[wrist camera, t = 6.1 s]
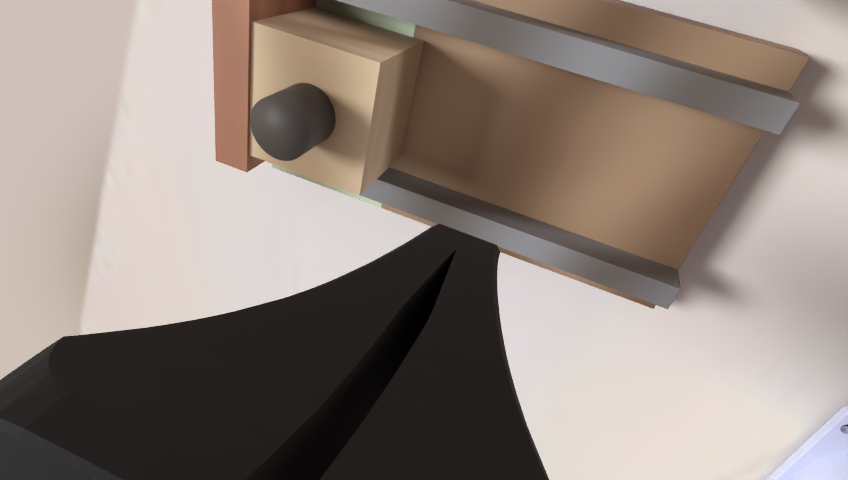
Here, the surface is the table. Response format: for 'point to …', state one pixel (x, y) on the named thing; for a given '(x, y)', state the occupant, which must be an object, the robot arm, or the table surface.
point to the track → (552, 126)
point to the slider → (330, 96)
